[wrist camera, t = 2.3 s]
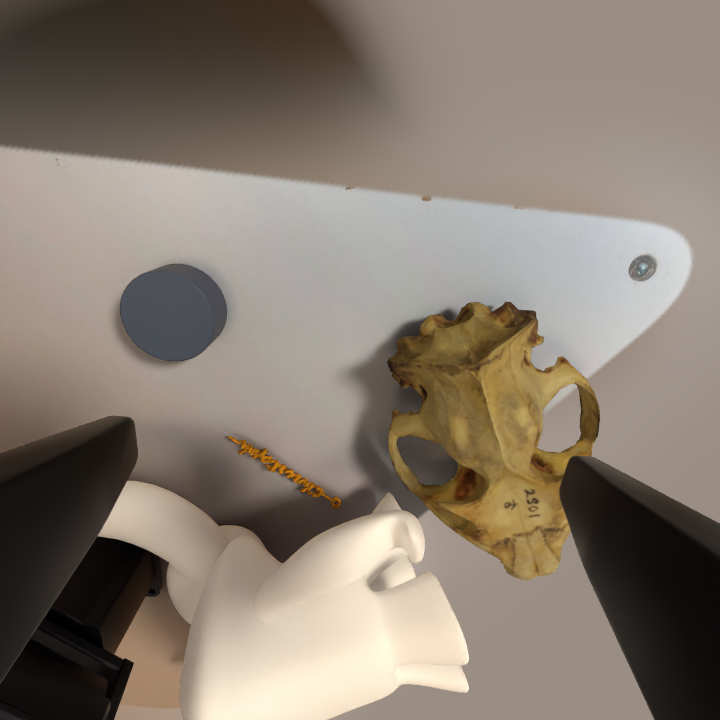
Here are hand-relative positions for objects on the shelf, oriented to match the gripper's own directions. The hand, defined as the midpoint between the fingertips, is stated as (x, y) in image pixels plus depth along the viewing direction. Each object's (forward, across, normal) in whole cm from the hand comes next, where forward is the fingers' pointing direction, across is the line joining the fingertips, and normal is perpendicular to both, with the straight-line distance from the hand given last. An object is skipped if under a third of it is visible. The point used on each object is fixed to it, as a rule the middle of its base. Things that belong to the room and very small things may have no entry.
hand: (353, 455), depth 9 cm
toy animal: (+11, -5, +14) cm, 18 cm away
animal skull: (+16, -5, +5) cm, 18 cm away
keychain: (+14, +3, +10) cm, 18 cm away
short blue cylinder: (+14, +9, +1) cm, 16 cm away
